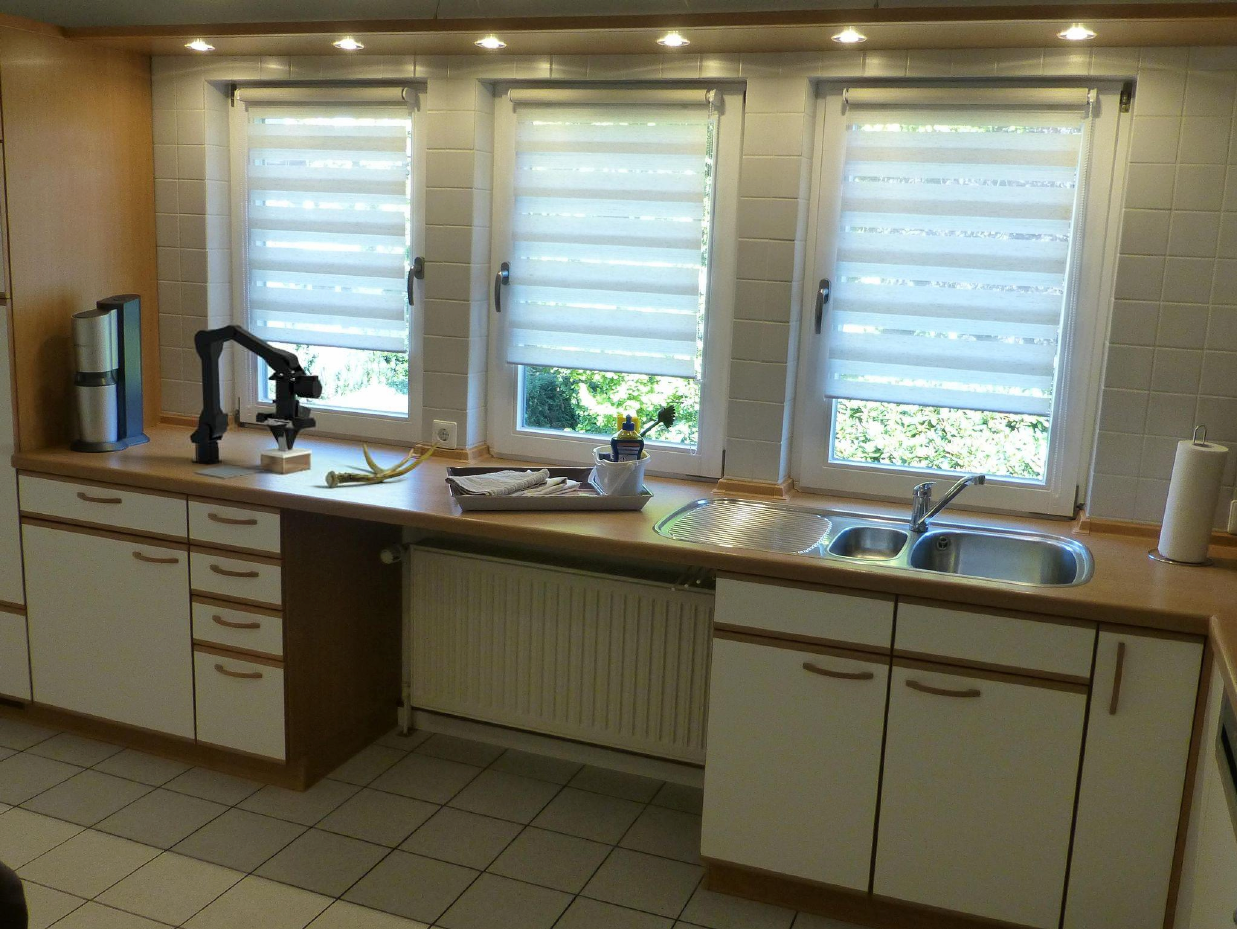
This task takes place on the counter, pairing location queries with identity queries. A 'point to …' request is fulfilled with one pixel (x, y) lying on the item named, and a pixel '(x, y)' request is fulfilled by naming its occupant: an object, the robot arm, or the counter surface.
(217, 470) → the mat
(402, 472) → the antler
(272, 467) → the crate
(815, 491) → the counter surface
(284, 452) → the lid
